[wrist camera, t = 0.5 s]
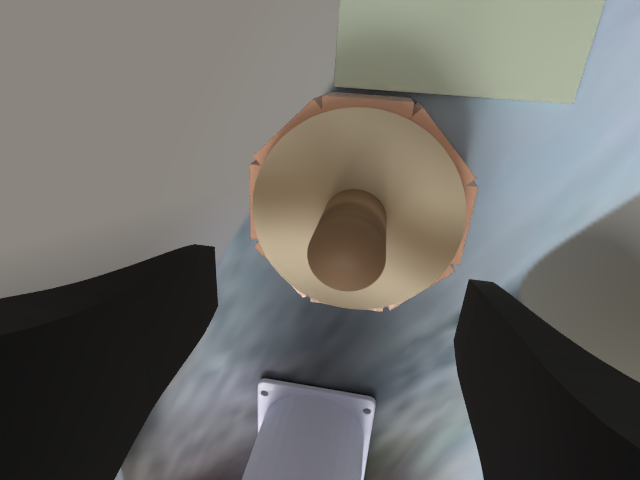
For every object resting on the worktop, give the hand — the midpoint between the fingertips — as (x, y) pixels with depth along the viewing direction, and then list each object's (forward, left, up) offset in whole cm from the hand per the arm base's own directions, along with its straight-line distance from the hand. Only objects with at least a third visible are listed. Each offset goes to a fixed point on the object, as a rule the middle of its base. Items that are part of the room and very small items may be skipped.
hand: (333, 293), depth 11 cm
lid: (0, 0, -7) cm, 7 cm away
